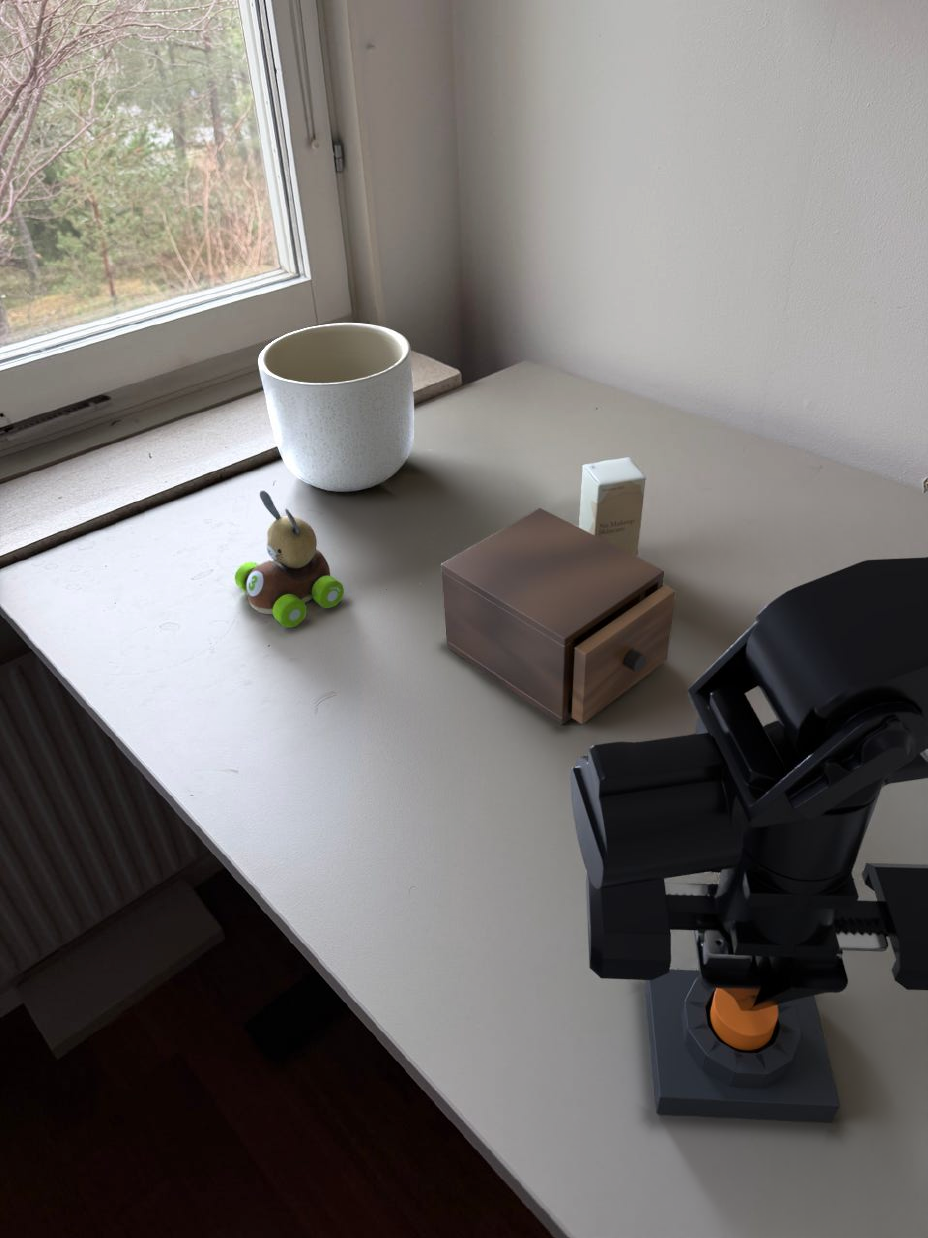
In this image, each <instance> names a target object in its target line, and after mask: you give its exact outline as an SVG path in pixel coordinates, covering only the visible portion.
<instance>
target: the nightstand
mask: <svg viewBox="0 0 928 1238" xmlns="http://www.w3.org/2000/svg"><path fill="white" fill-rule="evenodd" d="M440 569H441V570H440V571H441V584H442V587H441V588H442V598H443V600H442V601H443V613H444V614H443V615H444V628H445V640H446V642H445V643H446V647H447V648H448V649H449V650H451V651H452V652H453V653H455V654H457V655H458V656H459V657H461V658H462V659H463V660H465V661H467V662H468V663H470V664H471V665H472V666H474V667H476V668H477V669H479V670H480V671H482V672H483V673H484V674H486V675H487V676H489V677H490V678H492V679H493V680H494V681H496V682H497V683H499V684H501V686H504V687H505V688H506V689H508V690H509V691H511V692H512V693H514V694H515V695H517V696H518V697H520V698H521V699H522V700H524V701H526V702H527V704H530V705H531V706H533V707H534V708H535V709H537V710H539V711H540V712H542V713H543V714H545V715H546V716H548V717H549V718H550V719H552V720H553V721H555V722H556V723H558V724H559V725H561V726H563V725H565V724H566V723H567V722H568V721H569V720H571V719H573V718H572V699H573V698H571V699H570V700H569V678H570V653H571V642H572V641H573V640H575V639H576V638H578V637H579V636H580V635H582V634H583V633H585V632H586V631H588V630H589V629H591V628H592V627H594V626H595V625H596V624H598V623H599V622H601V621H602V620H604V619H605V618H607V617H608V616H609V615H611V614H612V613H614V612H615V611H617V610H618V609H620V608H621V607H623V606H624V605H625V604H627V603H628V602H630V601H631V600H633V599H634V598H636V597H637V596H638V595H640V594H641V593H643V592H644V591H646V594H645V598H647V597H648V596H649V595H651V594H652V593H654V592H655V591H657V590H658V589H659V588H661V587H662V586H664V582H665V581H664V579H665V569H663V568H660V567H658V566H656V565H654V564H652V563H650V562H648V561H646V560H644V559H642V558H641V557H638V556H637V557H636V556H634V555H632V554H630V553H628V552H626V551H624V550H622V549H620V548H618V547H616V546H615V545H613V544H611V543H609V542H607V541H605V540H603V539H601V538H599V537H597V536H595V535H593V534H591V533H589V532H587V531H585V530H583V529H581V528H579V526H577V525H575V524H573V523H571V522H569V521H567V520H565V519H563V518H561V517H559V516H557V515H555V514H553V513H552V512H550V511H547V510H545V509H543V508H542V507H539V508H536V509H535V510H533V511H532V512H529V514H527V515H524V516H523V517H521V518H519V519H517V520H516V521H514V522H512V523H511V524H509V525H507V526H505V527H503V528H501V529H500V530H498V531H497V532H495V533H493V534H491V535H489V536H488V537H486V538H484V539H483V540H481V541H479V542H477V543H475V544H474V545H472V546H470V547H468V548H466V549H465V550H463V551H461V552H459V553H458V554H456V555H455V556H452V557H450V558H449V559H447V560H446V561H444V562H442V563H441V564H440Z"/></svg>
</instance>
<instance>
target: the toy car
mask: <svg viewBox="0 0 928 1238" xmlns="http://www.w3.org/2000/svg"><path fill="white" fill-rule="evenodd" d="M259 498H260V500H261V503H262V504H263V505H264V507H265V508H266V510H267V511H268V512H269V513H270V515H272V517H273V518H274V519H275V520H274V521H273V522H272V523H271V524H269V527H268V529H267V532H266V551H267V554H268V556H269V557H270V558H271V559H272V560H266V561H264V562H262V563H260V564H258V563H257V562H255V561H247V562H244V563H242V564H241V565H240V566H239V567H238V568H237V569H236V571H235V573H234V581H235V582H234V583H235V584H236V586H237V587H238V588H240V589H241V590H242V591H243V592H244V593H246V595H247V598H248V602H249V604H250V606H251V607H252V608H253V609H254V610H256V611H257V612H259V613H261V614H266V615H272V616H273V617H274V619H275V620H276V621H277V622H278V623H279V624H280V625H281V626H283V627H285V628H295V627H296V626H298V625H299V624H301V623H302V621H303V620H304V619H305V617H306V615H307V606H306V603H308V602H309V601H311V600H312V599H313V601H314V602H315V603H317V604H318V605H319V606H321V607H322V608H324V609H331V608H334V607H336V606H337V605H338V604H339V603H340V602H341V601H342V600H343V597H344V595H345V587H344V585H343V583H341V582H340V581H339V579H337V578H335V577H334V576H333V575H331V569H330V566H329V563H328V561H327V559H326V557H325V556H324V554H323V553H322V552H321V551H320V550H319V549H317V548H318V540H317V535H316V532H315V530H314V529H313V527H312V526H311V524H309V523H308V522H307V521H305V520H304V519H302V518H300V517H297V516H293V515H292V514H291V512H290V510H289V509H288V508H285V509H284V510H285V513H286V515H287V516H281V515H280V513H279V510H278V509H277V507H276V506H275V504H274V501H273V500H272V496H270V494H269V493H268V492H267V491H265V490H261V491H260V492H259Z"/></svg>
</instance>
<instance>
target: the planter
mask: <svg viewBox="0 0 928 1238" xmlns="http://www.w3.org/2000/svg"><path fill="white" fill-rule="evenodd" d="M257 363H258V370H259V374H260V375H259V376H260V380H261V384H262V388H263V393H264V398H265V403H266V406H267V412H268V416H269V420H270V424H271V428H272V433H273V436H274V440H275V443H276V446H277V448H278V452H279V455H280V456H281V459H282V460H283V463H284V465H286V468H288V470H289V471H290V472H291V473H292V474H293V475H294V476H295V477H297V478H298V479H300V480H301V481H303V482H304V483H306V484H309V485H310V486H311V487H312V486H313V487H314V488H318V489H321V490H325V491H330V492H340V493H347V492H349V493H350V492H356V491H357V492H358V491H362V490H366V489H369V488H373V487H375V486H377V485H379V484H381V483H383V482H385V481H387V480H388V479H390V478H391V477H392V476H393V475H394V474H396V473H398V471H399V470H400V469H401V468H402V467H403V466H404V464H405V463H406V462H407V459H408V458H409V456H410V454H411V452H412V449H413V443H414V436H415V435H414V434H415V402H414V401H415V397H414V377H413V359H412V347H411V344H410V342H409V341H408V339H407V338H406V337H405V336H404V335H403V334H402V333H400V332H398V331H396V330H394V329H391V328H388V327H385V326H381V325H376V324H369V323H359V322H357V323H356V322H342V323H341V322H340V323H328V324H321V325H316V326H310V327H306V328H302V329H299V330H295V331H292V332H289V333H287V334H284V335H283V336H280V337H279V338H276V339H274V340H273V341H272V342H271V343H270V342H269V344H268V345H266V346H265V347H264V349H263V350H262V351H261V352H260V354H259V356H258V360H257Z"/></svg>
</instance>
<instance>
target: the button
mask: <svg viewBox="0 0 928 1238" xmlns="http://www.w3.org/2000/svg"><path fill="white" fill-rule="evenodd" d="M710 1019H711V1023H712V1026H713V1028H714V1030H715V1032H716V1033H717V1035H718V1036H719V1037H720V1038H721V1039H722V1040H723V1041H724V1042H725V1043H727V1044H728V1045H730V1046H732V1047H734V1048H737V1049H740V1050H756V1049H759V1048H761V1047H763V1046H764V1045H766V1044H767V1043H768V1042H769V1040H770V1039H771V1037H772V1034H773V1031H774V1028H775V1025H776V1022H777V1019H778V1006H777V1005H775V1006H771V1007H768V1008H764V1009H761V1010H758V1011H749V1010H748V1011H741V1010H740V1008H739V1006H738V1004H737V1002H736V1001H735V999H734V998H733V997H732V996H731V995H729V994H728V993H727V992H726V991H724V990H723V989H720V988H717V989H716V991H715V994H714V999H713V1003H712V1007H711V1011H710Z"/></svg>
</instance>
